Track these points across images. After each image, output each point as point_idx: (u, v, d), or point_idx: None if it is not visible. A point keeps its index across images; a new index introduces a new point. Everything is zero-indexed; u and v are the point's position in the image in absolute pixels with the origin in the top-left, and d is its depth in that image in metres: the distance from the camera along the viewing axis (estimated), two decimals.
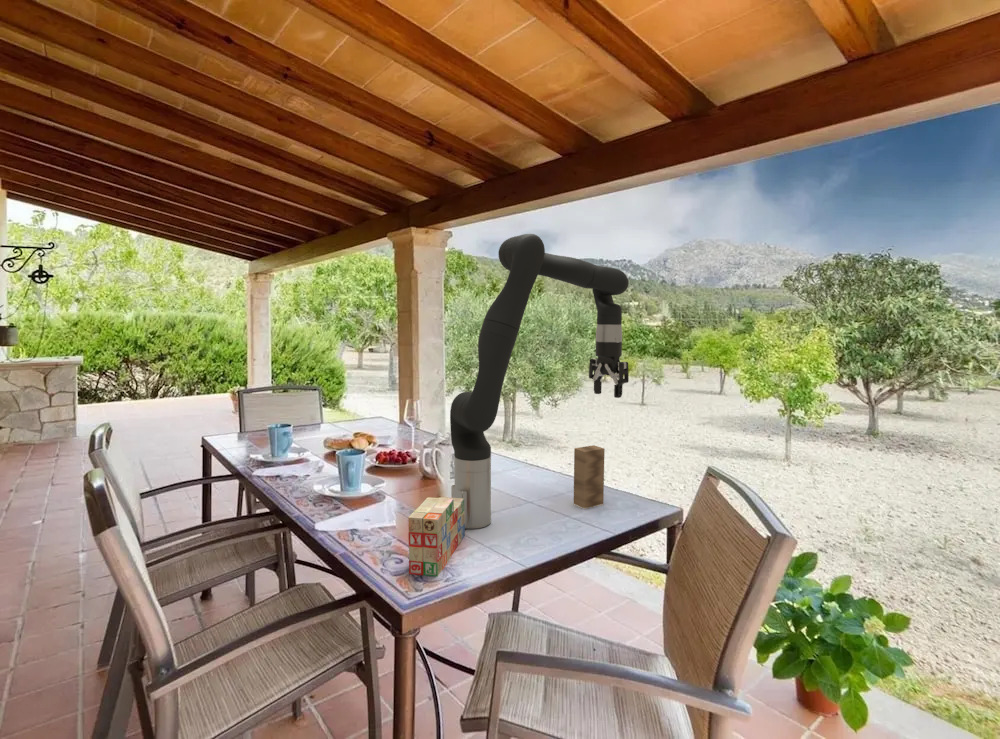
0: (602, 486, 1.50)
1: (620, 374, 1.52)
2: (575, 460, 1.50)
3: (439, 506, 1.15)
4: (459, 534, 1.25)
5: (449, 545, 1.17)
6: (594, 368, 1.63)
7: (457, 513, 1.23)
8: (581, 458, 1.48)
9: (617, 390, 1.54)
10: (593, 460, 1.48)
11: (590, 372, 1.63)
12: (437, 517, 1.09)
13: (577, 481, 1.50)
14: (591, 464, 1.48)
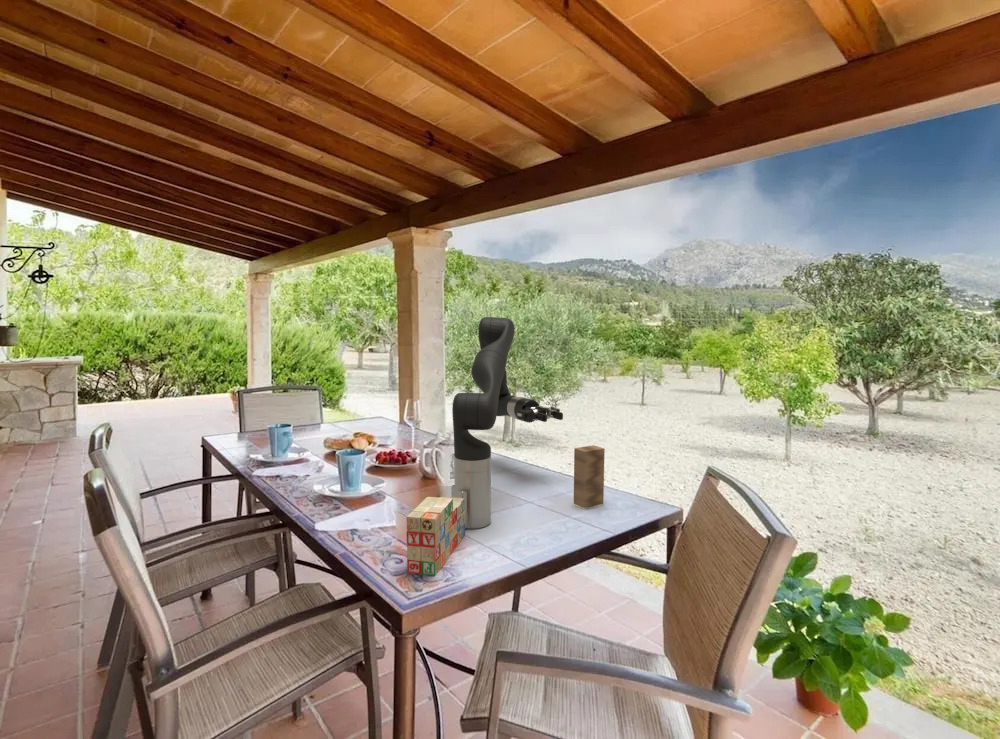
0: (602, 486, 1.50)
1: (555, 408, 1.72)
2: (575, 460, 1.50)
3: (438, 506, 1.15)
4: (459, 534, 1.25)
5: (448, 545, 1.17)
6: None
7: (457, 513, 1.23)
8: (581, 458, 1.48)
9: None
10: (593, 460, 1.48)
11: (527, 411, 1.65)
12: (435, 517, 1.09)
13: (577, 481, 1.50)
14: (591, 464, 1.48)
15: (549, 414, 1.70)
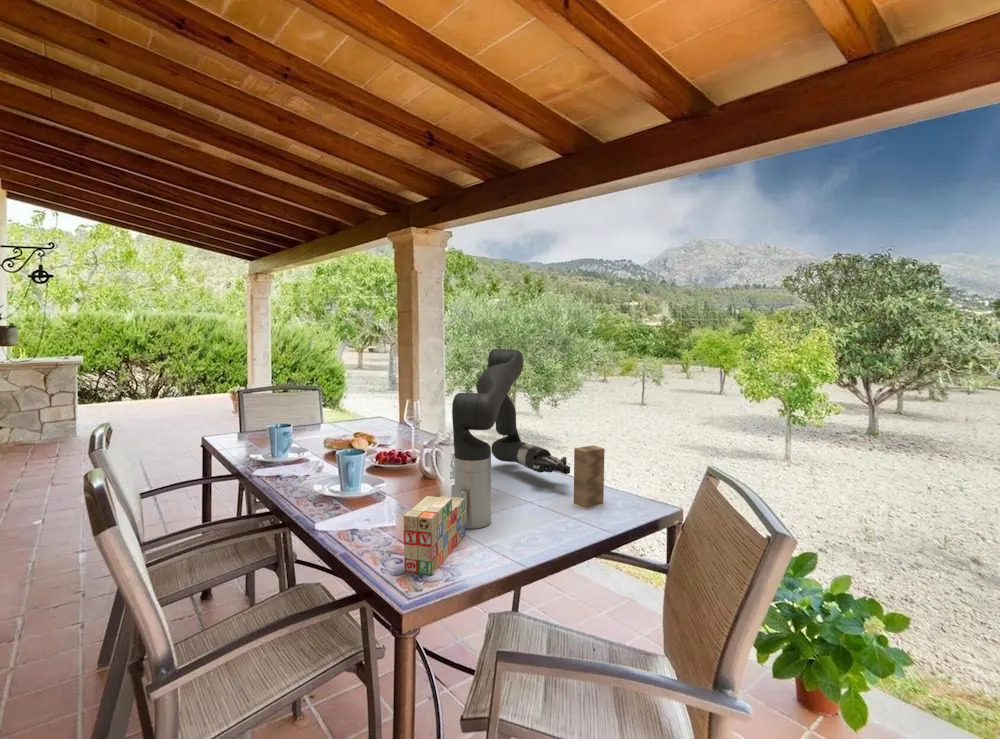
0: (602, 486, 1.50)
1: (564, 459, 1.66)
2: (575, 460, 1.50)
3: (436, 505, 1.16)
4: (458, 533, 1.25)
5: (446, 544, 1.17)
6: None
7: (456, 512, 1.24)
8: (581, 458, 1.48)
9: None
10: (593, 460, 1.48)
11: (546, 463, 1.61)
12: (432, 516, 1.10)
13: (577, 481, 1.50)
14: (591, 464, 1.48)
15: None
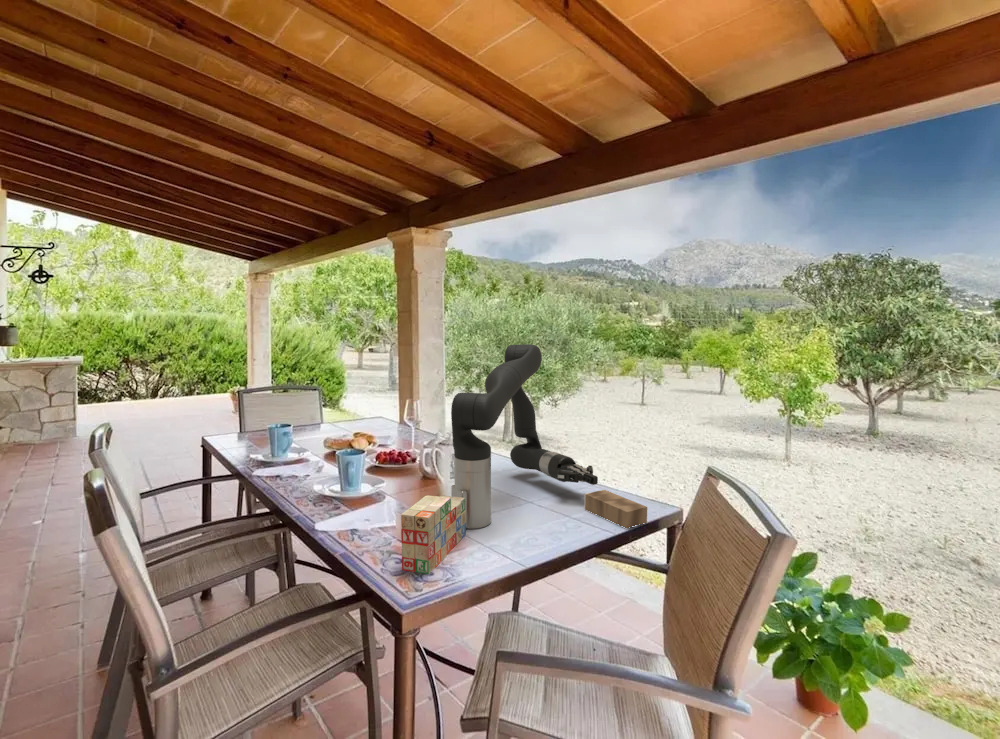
0: None
1: (590, 468, 1.55)
2: (617, 510, 1.36)
3: (434, 504, 1.16)
4: (458, 533, 1.25)
5: (444, 543, 1.18)
6: None
7: (456, 512, 1.24)
8: (620, 520, 1.36)
9: None
10: None
11: (572, 472, 1.51)
12: (429, 515, 1.10)
13: (601, 506, 1.41)
14: None
15: None
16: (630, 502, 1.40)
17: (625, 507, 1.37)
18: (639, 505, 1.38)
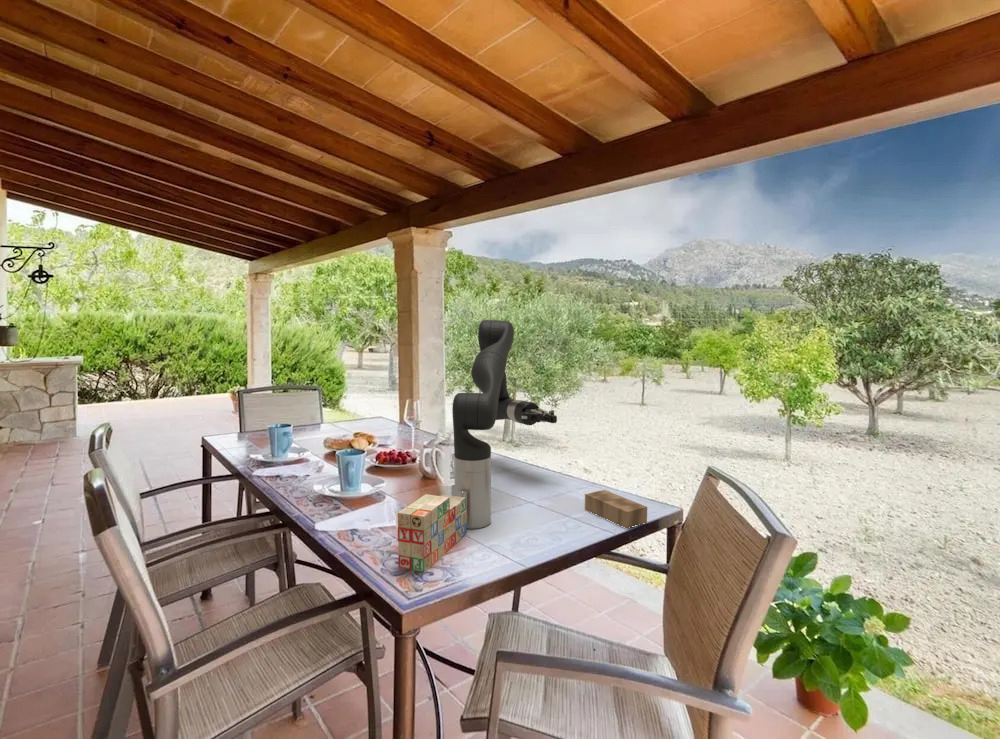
0: None
1: (552, 411, 1.70)
2: (617, 510, 1.36)
3: (432, 503, 1.17)
4: (458, 532, 1.26)
5: (442, 543, 1.18)
6: None
7: (455, 511, 1.24)
8: (620, 520, 1.36)
9: None
10: None
11: (534, 413, 1.66)
12: (425, 514, 1.11)
13: (601, 506, 1.41)
14: None
15: None
16: (630, 502, 1.40)
17: (625, 507, 1.37)
18: (639, 505, 1.38)
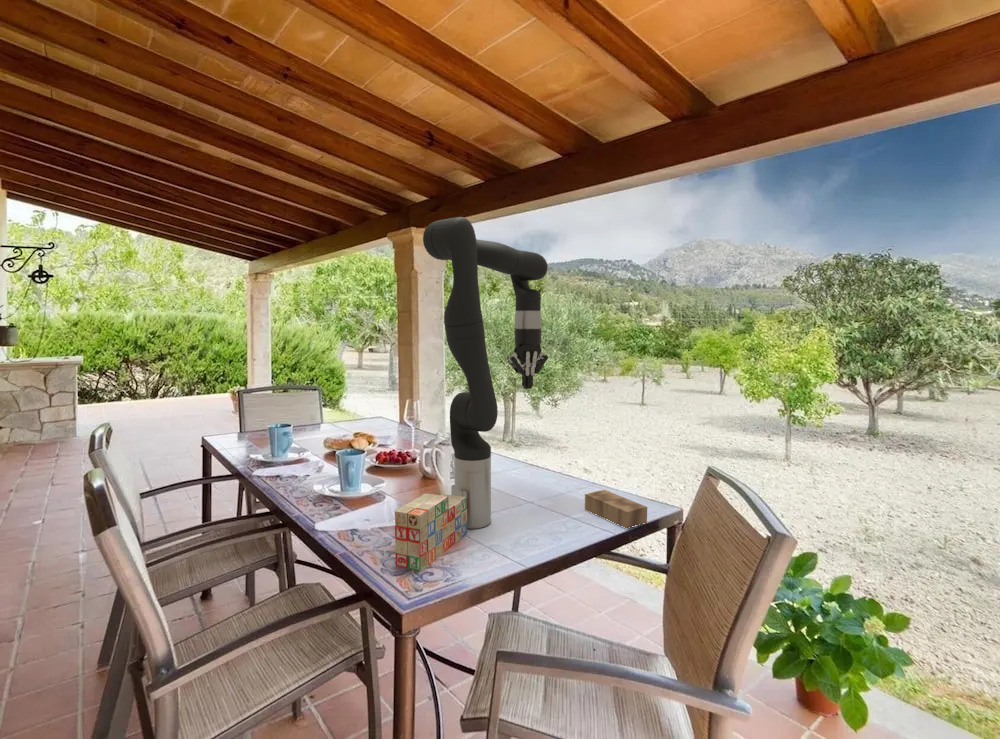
0: None
1: (541, 365, 1.53)
2: (617, 510, 1.36)
3: (430, 502, 1.17)
4: (457, 532, 1.26)
5: (440, 542, 1.19)
6: None
7: (454, 511, 1.25)
8: (620, 520, 1.36)
9: (531, 381, 1.53)
10: None
11: (520, 368, 1.50)
12: (421, 513, 1.11)
13: (601, 506, 1.41)
14: None
15: (529, 366, 1.53)
16: (630, 502, 1.40)
17: (625, 507, 1.37)
18: (639, 505, 1.38)
